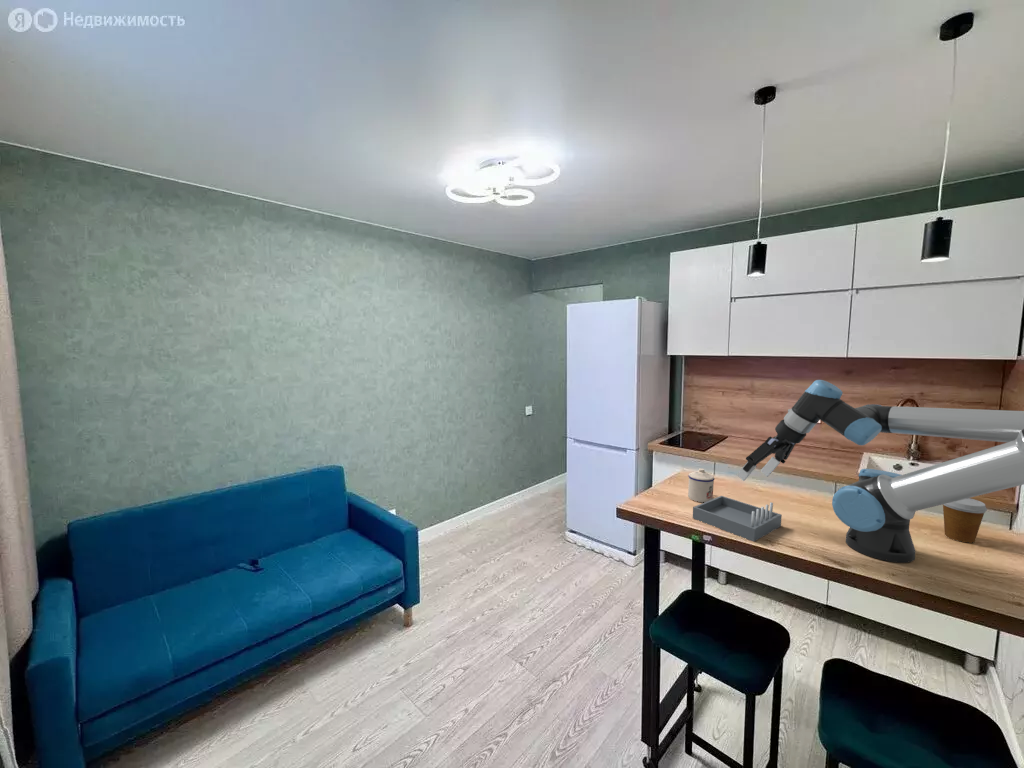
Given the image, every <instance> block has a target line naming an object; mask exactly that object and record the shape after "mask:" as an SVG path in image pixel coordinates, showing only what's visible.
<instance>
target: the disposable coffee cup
mask: <svg viewBox="0 0 1024 768" xmlns="http://www.w3.org/2000/svg"><path fill="white" fill-rule="evenodd" d="M942 511H943V527H944V536H945V535H946V536H947V537H946V536H945V537H946V538H948V537H949V538H948V539H950V538H951V539H950V540H953V539H954V540H953V541H956V540H958V541H957V542H960V541H962V542H961V543H965V542H969V543H968V544H973V543H972V542H974V543H975V542H976V539H977V536H978V533H979V530H980V528H981V523H982V521H983V518H984V514H985V513H986V512H987V511H988V508H987V507H986V503H984V502H983V501H980V500H978V499H974V498H972V497H971V498H967V499H963V500H958V501H954V502H950V503H946V504H942Z"/></svg>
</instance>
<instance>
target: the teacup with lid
mask: <svg viewBox="0 0 1024 768" xmlns="http://www.w3.org/2000/svg"><path fill="white" fill-rule="evenodd" d="M687 477H688V487H687V489H688V490H687V491H688V492H687V498H688V499H690V500H691V501H693V500H694V502H697V501H698V502H697V503H703V502H707V501H709V500H712V499H714V482H715V477H714V475H713V474H711V473H709V472H707V471H705V469H704V468H698V470H696V471H692V472H690V473H688V475H687Z"/></svg>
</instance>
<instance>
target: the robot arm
mask: <svg viewBox="0 0 1024 768" xmlns="http://www.w3.org/2000/svg"><path fill="white" fill-rule="evenodd" d="M843 393H844V392H843V391H842V389H840V387H839V388H838V386H836V385H835V384H833V383H831V382H829V381H827V380H823V379H816V380H814V381H813V382H812V384H810V385H809V387H808V388H806V389H805V390H804V392H803V393H802V395H801V396H800V397H799V399H797V401H796V402H795V403H794V404H793V406H791V408H789V409H787V413H786V414H785V416H784V417H783V419H781V420H780V421H779V422H778V423H777V424H776V426H775V427H774V430H775V432H776V436H773V437H772V436H769V437H768V438H766V440H765V441H764V442H762V444H760V445H759V446H757V448H755V450H753V452H751V453H750V454H749V455H748V456H746V457H745V460H746V461H747V462H746V463H745V464H744V465H743V466H742V468H740V469H739V471H738V472H737V473H736V476H738V477H739V478H740V479H741V481H743V482H744V481H746V480H747V478H749V476H750V475H751V474H752V473H753V472H754V471H755V469H756V468H757V465H758V464H760V463H761V462H762V461H764V460H765V459H766V458H768V457H769V456H771V455H772V454H773V455H774V456H771V458H770V459H769V460H768V461H767V462H766V464H765V465H763V467H762V468H761V469H760V472H761V473H762V474H763V475H764V476H765V477H769V476H770V475H771V474H772V472H773V471H775V470H776V468H777V467H778V466H779V465H780V464H785V463H786V462H787V460H788V458H789V457H790V455H791V453H792V451H793V450H794V448H795V446H796V444H800V443H801V442H802V441H803V440H804V438H805V437H807V434H809V433H810V432H811V431H812V430H813V429H814V428H815V426H816V425H817V424H818V423H819V421H822V422H823V423H825V425H827V426H828V427H830V428H831V429H833V430H834V431H836V432H838V433H839V434H841V436H843V437H845V438H846V439H847V440H848V441H851V442H852V443H854V444H856V445H858V446H865V445H867V444H868V443H870V442H871V441H873V440H874V439H875V438H876V437H877V436H878V435H879V434H880V433H884V434H887V433H888V434H901V435H912V436H924V437H925V436H926V437H935V438H936V437H937V438H949V439H950V438H951V439H963V440H971V441H972V440H974V441H986V442H998V443H1001V444H998V445H995V446H991V447H989V448H986V449H982V450H979V451H975V452H972V453H969V454H965V455H962V456H960V457H956V458H953V459H949V460H946V461H944V462H940V463H937V464H933V465H930V466H926V467H924V468H921V469H917V470H914V471H911V472H907V473H903V474H900V473H896V472H892V471H886V470H880V469H875V468H861V469H860V471H859V474H857V476H858V481H855V482H853V483H850V484H848V485H844V486H842V487H840V488H839V489H838V490H837V491H835V493H834V494H833V496H832V499H831V500H832V502H831V505H832V510H833V512H834V514H835V515H836V517H837V518H838V519H839V520H840V522H841V523H843V525H846V526H847V527H849V528H848V529H847V531H846V534H845V543H846V545H847V546H848V547H850V548H851V549H852V550H855V551H856V552H859V553H860V554H862V555H865V556H868V557H871V558H873V559H878V560H881V561H886V562H890V563H891V562H892V563H902V564H904V563H905V564H907V563H912V562H913V561H915V559H916V548H915V545H914V542H913V538H912V535H911V533H910V523H911V520H912V519H914V516H915V514H916V513H917V511H921V510H925V509H929V508H935V507H938V506H943V504H946V503H950V502H954V501H958V500H963V499H967V498H971V499H972V498H974V497H979V496H982V495H987V494H990V493H991V494H992V493H994V492H995V493H996V492H998V491H1003V490H1006V489H1011V488H1016V487H1018V486H1023V485H1024V410H1004V409H1003V410H1002V409H978V408H977V409H974V408H973V409H972V408H948V407H945V408H944V407H917V406H898V405H897V406H895V405H894V406H889V405H881V404H875V403H874V404H871V403H870V404H865V405H862V406H859V407H853V406H851V405H850V404H848V403H847V402H845V401H844V400H843V399H841V398H842V395H843Z"/></svg>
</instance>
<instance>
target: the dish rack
mask: <svg viewBox="0 0 1024 768" xmlns="http://www.w3.org/2000/svg"><path fill="white" fill-rule="evenodd" d="M773 507H774V502H769V504H765V507H764V506H761V507H759V506H755V505H752V504H749V503H747V502H743V501H740V500H737V499H733V498H730V497H727V496H724V495H720V496H717V497H713V499H712V500H709V501H707V502H704V503H703V502H701V503H699V504H697V505H695V506H693V508H692V519H693V518H694V519H693V520H696V521H698V520H699V521H698V522H701V521H702V522H701V523H704V524H706V523H707V525H709V526H711V525H712V526H711V527H714V526H715V527H714V528H716V529H719V528H720V530H722V531H724V530H725V532H728V533H730V534H732V533H733V534H732V535H735V536H738V537H740V536H741V537H740V538H743V539H745V538H746V539H745V540H748V541H751V542H754V543H755V541H757V540H759V539H761V538H763V537H765V536H766V535H768V534H770V533H771V532H773V531H775V530H777V529H779V528H781V526H782V515H783V514H781V513H777V512H775V511H774V510H773V509H774V508H773Z"/></svg>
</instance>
